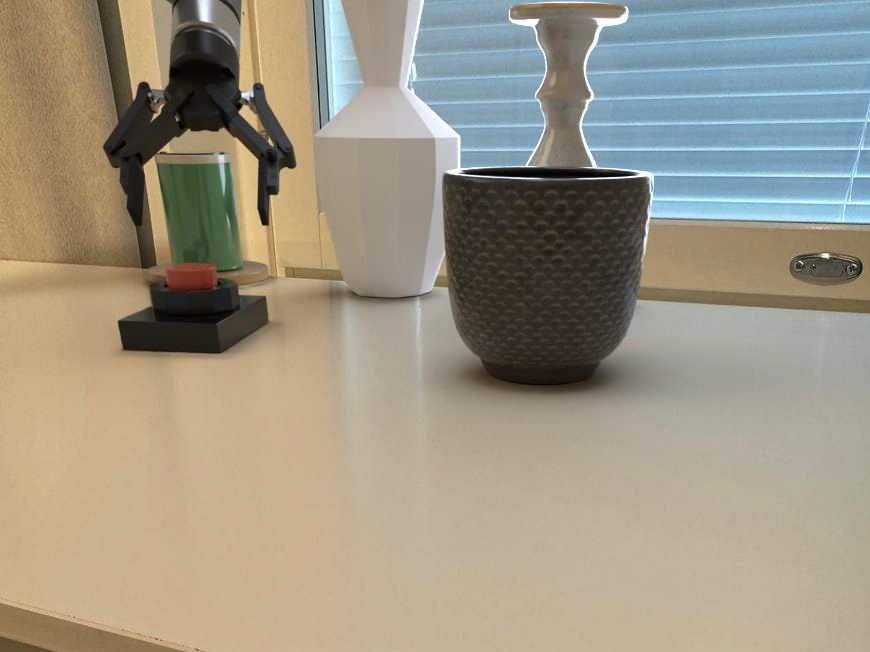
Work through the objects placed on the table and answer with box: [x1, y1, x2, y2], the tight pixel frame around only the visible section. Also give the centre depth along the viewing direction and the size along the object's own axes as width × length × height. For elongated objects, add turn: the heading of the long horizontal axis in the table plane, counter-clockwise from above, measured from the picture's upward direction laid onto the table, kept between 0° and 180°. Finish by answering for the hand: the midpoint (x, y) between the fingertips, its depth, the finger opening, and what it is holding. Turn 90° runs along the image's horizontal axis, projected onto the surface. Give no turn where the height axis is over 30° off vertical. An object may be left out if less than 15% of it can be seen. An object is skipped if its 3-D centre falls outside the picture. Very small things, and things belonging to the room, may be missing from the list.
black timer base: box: [117, 278, 270, 354], centre depth 73 cm, size 8×12×4 cm, turn 173°
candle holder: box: [508, 1, 629, 168], centre depth 82 cm, size 11×11×24 cm
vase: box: [313, 0, 461, 298], centre depth 86 cm, size 14×14×25 cm
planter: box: [442, 165, 655, 385], centre depth 61 cm, size 14×14×13 cm
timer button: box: [165, 263, 218, 289], centre depth 72 cm, size 4×4×2 cm
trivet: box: [147, 259, 270, 286], centre depth 99 cm, size 13×13×1 cm
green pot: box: [153, 150, 244, 271], centre depth 94 cm, size 12×8×11 cm
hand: (199, 217), depth 95 cm, fingers open, 13 cm apart
